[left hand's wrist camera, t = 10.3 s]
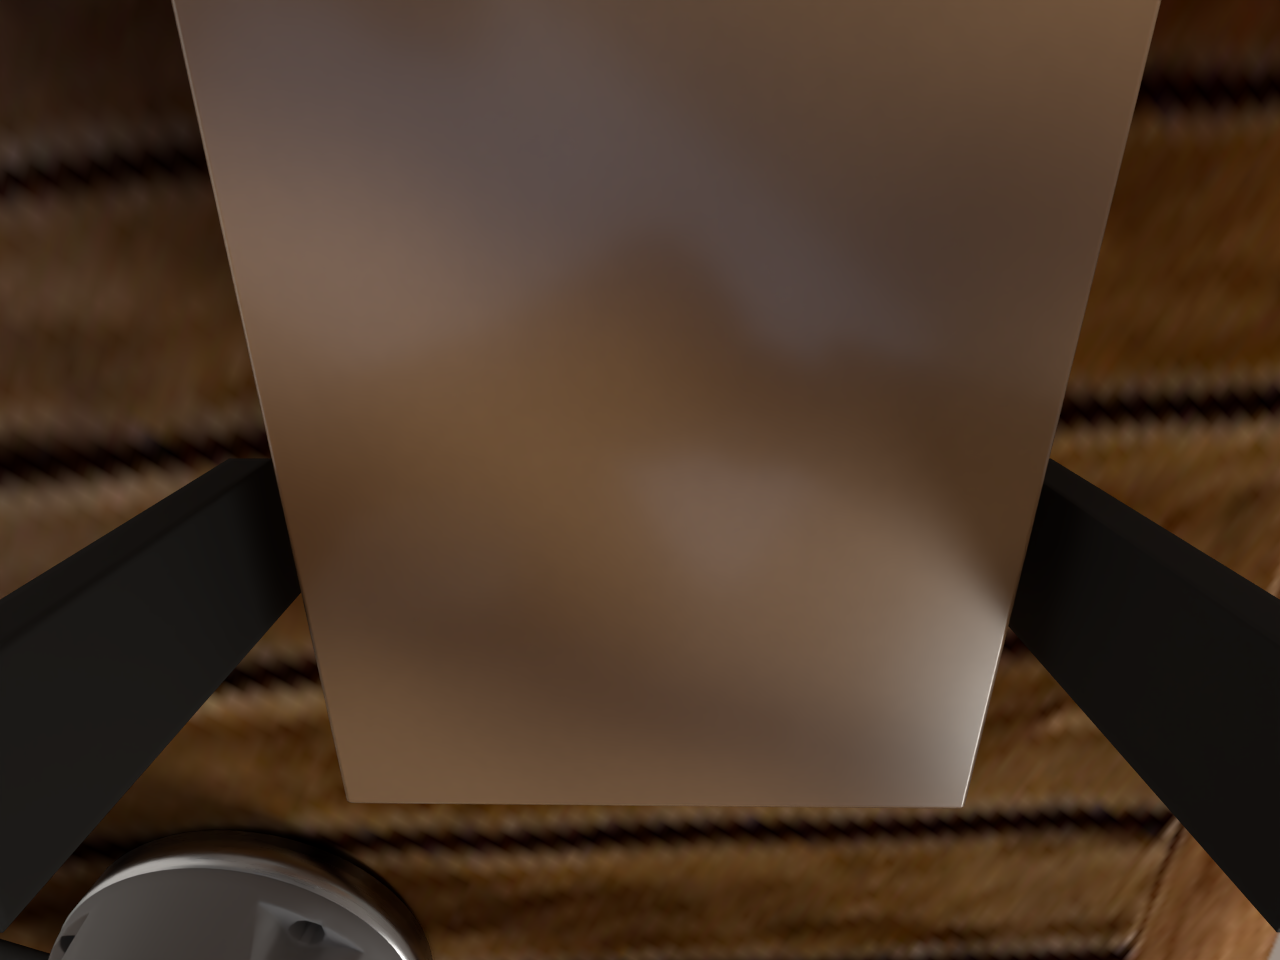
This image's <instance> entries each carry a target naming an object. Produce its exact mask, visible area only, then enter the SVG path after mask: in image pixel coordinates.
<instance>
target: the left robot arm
mask: <svg viewBox="0 0 1280 960" xmlns="http://www.w3.org/2000/svg"><path fill="white" fill-rule="evenodd" d="M300 593H301V590H300V585H299V580H298V576H297V571H296V567H295V562H294V557H293V553H292V548H291V543H290V539H289V534H288V530H287V525H286V520H285V516H284V511H283V507H282V502H281V498H280V493H279V489H278V484H277V480H276V475H275V470H274V466H273V461H272V459H228V460H226V461H225V462H223V463H221V464H220V465H218V466H216V467H215V468H213V469H212V470H210V471H208V472H207V473H205V474H203V475H202V476H200V477H199V478H197V479H195V480H194V481H192V482H190V483H189V484H187V485H186V486H184V487H182V488H181V489H179V490H177V491H176V492H174V493H173V494H171V495H169V496H168V497H166V498H164V499H163V500H161V501H160V502H158V503H156V504H155V505H153V506H152V507H150V508H148V509H147V510H145V511H143V512H142V513H140V514H139V515H137V516H135V517H134V518H132V519H130V520H129V521H127V522H126V523H124V524H122V525H121V526H119V527H117V528H116V529H114V530H113V531H111V532H109V533H108V534H106V535H104V536H103V537H101V538H100V539H98V540H96V541H95V542H93V543H91V544H90V545H88V546H87V547H85V548H83V549H82V550H80V551H78V552H77V553H75V554H74V555H72V556H70V557H69V558H67V559H65V560H64V561H62V562H61V563H59V564H57V565H56V566H54V567H53V568H51V569H49V570H48V571H46V572H44V573H43V574H41V575H40V576H38V577H36V578H35V579H33V580H31V581H30V582H28V583H27V584H25V585H23V586H22V587H20V588H18V589H17V590H15V591H14V592H12V593H10V594H9V595H7V596H5V597H4V598H2V599H1V600H0V932H4V931H5V930H6V928H7V927H8V926H9V925H10V924H11V923H12V922H13V921H14V919H15V918H16V917H17V916H18V915H19V914H20V913H21V911H22V910H23V909H24V908H25V907H26V906H27V905H28V903H29V902H30V901H31V900H32V899H33V898H34V897H35V895H36V894H37V893H38V892H39V891H40V890H41V889H42V887H43V886H44V885H45V884H46V883H47V882H48V881H49V879H50V878H51V877H52V876H53V875H54V874H55V873H56V871H57V870H58V869H59V868H60V867H61V866H62V865H63V863H64V862H65V861H66V860H67V859H68V858H69V857H70V855H71V854H72V853H73V852H74V851H75V850H76V849H77V847H78V846H79V845H80V844H81V843H82V842H83V841H84V839H85V838H86V837H87V836H88V835H89V834H90V833H91V831H92V830H93V829H94V828H95V827H96V826H97V825H98V823H99V822H100V821H101V820H102V819H103V818H104V817H105V816H106V814H107V813H108V812H109V811H110V810H111V809H112V808H113V806H114V805H115V804H116V803H117V802H118V801H119V800H120V798H121V797H122V796H123V795H124V794H125V793H126V792H127V790H128V789H129V788H130V787H131V786H132V785H133V784H134V782H135V781H136V780H137V779H138V778H139V777H140V776H141V774H142V773H143V772H144V771H145V770H146V769H147V768H148V766H149V765H150V764H151V763H152V762H153V761H154V760H155V758H156V757H157V756H158V755H159V754H160V753H161V752H162V750H163V749H164V748H165V747H166V746H167V745H168V744H169V742H170V741H171V740H172V739H173V738H174V737H175V736H176V734H177V733H178V732H179V731H180V730H181V729H182V728H183V726H184V725H185V724H186V723H187V722H188V721H189V720H190V718H191V717H192V716H193V715H194V714H195V713H196V712H197V711H198V709H199V708H200V707H201V706H202V705H203V704H204V703H205V701H206V700H207V699H208V698H209V697H210V696H211V695H212V693H213V692H214V691H215V690H216V689H217V688H218V687H219V685H220V684H221V683H222V682H223V681H224V680H225V679H226V677H227V676H228V675H229V674H230V673H231V672H232V671H233V669H234V668H235V667H236V666H237V665H238V664H239V663H240V661H241V660H242V659H243V658H244V657H245V656H246V655H247V653H248V652H249V651H250V650H251V649H252V648H253V647H254V645H255V644H256V643H257V642H258V641H259V640H260V639H261V637H262V636H263V635H264V634H265V633H266V632H267V631H268V629H269V628H270V627H271V626H272V625H273V624H274V623H275V621H276V620H277V619H278V618H279V617H280V616H281V615H282V613H283V612H284V611H285V610H286V609H287V608H288V607H289V606H290V604H291V603H292V602H293V601H294V600H295V599H296V598H297V596H298V595H299V594H300ZM1008 626H1009V627H1010V628H1011V629H1012V631H1013V632H1014V633H1015V634H1016V635H1017V636H1018V637H1019V639H1020V640H1021V641H1022V642H1023V643H1024V644H1025V645H1026V647H1027V648H1028V649H1029V650H1030V651H1031V652H1032V653H1033V655H1034V656H1035V657H1036V658H1037V659H1038V660H1039V661H1040V663H1041V664H1042V665H1043V666H1044V667H1045V668H1046V669H1047V671H1048V672H1049V673H1050V674H1051V675H1052V676H1053V677H1054V679H1055V680H1056V681H1057V682H1058V683H1059V684H1060V685H1061V687H1062V688H1063V689H1064V690H1065V691H1066V692H1067V693H1068V695H1069V696H1070V697H1071V698H1072V699H1073V700H1074V701H1075V703H1076V704H1077V705H1078V706H1079V707H1080V708H1081V709H1082V711H1083V712H1084V713H1085V714H1086V715H1087V716H1088V717H1089V718H1090V720H1091V721H1092V722H1093V723H1094V724H1095V725H1096V726H1097V728H1098V729H1099V730H1100V731H1101V732H1102V733H1103V734H1104V736H1105V737H1106V738H1107V739H1108V740H1109V741H1110V742H1111V744H1112V745H1113V746H1114V747H1115V748H1116V749H1117V750H1118V752H1119V753H1120V754H1121V755H1122V756H1123V757H1124V758H1125V760H1126V761H1127V762H1128V763H1129V764H1130V765H1131V766H1132V768H1133V769H1134V770H1135V771H1136V772H1137V773H1138V774H1139V776H1140V777H1141V778H1142V779H1143V780H1144V781H1145V782H1146V784H1147V785H1148V786H1149V787H1150V788H1151V789H1152V790H1153V792H1154V793H1155V794H1156V795H1157V796H1158V797H1159V798H1160V800H1161V801H1162V802H1163V803H1164V804H1165V805H1166V806H1167V808H1168V809H1169V810H1170V811H1171V812H1172V813H1173V814H1174V816H1175V817H1176V818H1177V819H1178V820H1179V821H1180V822H1181V823H1182V825H1183V826H1184V827H1185V828H1186V829H1187V830H1188V831H1189V833H1190V834H1191V835H1192V836H1193V837H1194V838H1195V839H1196V841H1197V842H1198V843H1199V844H1200V845H1201V846H1202V847H1203V849H1204V850H1205V851H1206V852H1207V853H1208V854H1209V855H1210V857H1211V858H1212V859H1213V860H1214V861H1215V862H1216V863H1217V865H1218V866H1219V867H1220V868H1221V869H1222V870H1223V871H1224V873H1225V874H1226V875H1227V876H1228V877H1229V878H1230V879H1231V881H1232V882H1233V883H1234V884H1235V885H1236V886H1237V887H1238V889H1239V890H1240V891H1241V892H1242V893H1243V894H1244V895H1245V897H1246V898H1247V899H1248V900H1249V901H1250V902H1251V903H1252V905H1253V906H1254V907H1255V908H1256V909H1257V910H1258V911H1259V913H1260V914H1261V915H1262V916H1263V917H1264V918H1265V919H1266V921H1267V922H1268V923H1269V924H1270V925H1271V926H1272V927H1273V928H1274V930H1275V931H1276V932H1280V600H1279V599H1278V598H1276V597H1275V596H1273V595H1271V594H1270V593H1268V592H1266V591H1265V590H1263V589H1262V588H1260V587H1258V586H1257V585H1255V584H1253V583H1252V582H1250V581H1249V580H1247V579H1245V578H1244V577H1242V576H1240V575H1239V574H1237V573H1236V572H1234V571H1232V570H1231V569H1229V568H1227V567H1226V566H1224V565H1223V564H1221V563H1219V562H1218V561H1216V560H1215V559H1213V558H1211V557H1210V556H1208V555H1206V554H1205V553H1203V552H1202V551H1200V550H1198V549H1197V548H1195V547H1193V546H1192V545H1190V544H1189V543H1187V542H1185V541H1184V540H1182V539H1180V538H1179V537H1177V536H1176V535H1174V534H1172V533H1171V532H1169V531H1167V530H1166V529H1164V528H1163V527H1161V526H1159V525H1158V524H1156V523H1154V522H1153V521H1151V520H1150V519H1148V518H1146V517H1145V516H1143V515H1141V514H1140V513H1138V512H1137V511H1135V510H1133V509H1132V508H1130V507H1128V506H1127V505H1125V504H1124V503H1122V502H1120V501H1119V500H1117V499H1116V498H1114V497H1112V496H1111V495H1109V494H1107V493H1106V492H1104V491H1103V490H1101V489H1099V488H1098V487H1096V486H1094V485H1093V484H1091V483H1090V482H1088V481H1086V480H1085V479H1083V478H1081V477H1080V476H1078V475H1077V474H1075V473H1073V472H1072V471H1070V470H1068V469H1067V468H1065V467H1064V466H1062V465H1060V464H1059V463H1057V462H1055V461H1054V460H1052V459H1049V461H1048V465H1047V469H1046V473H1045V478H1044V482H1043V486H1042V490H1041V494H1040V498H1039V502H1038V506H1037V510H1036V514H1035V519H1034V523H1033V527H1032V531H1031V535H1030V539H1029V543H1028V547H1027V551H1026V555H1025V560H1024V564H1023V568H1022V572H1021V576H1020V580H1019V584H1018V588H1017V592H1016V596H1015V600H1014V605H1013V609H1012V613H1011V617H1010V621H1009V625H1008ZM0 960H432V955H431V951H430V947H429V944H428V941H427V939H426V936H425V934H424V932H423V930H422V928H421V926H420V925H419V923H418V921H417V920H416V918H415V917H414V916H413V914H412V913H411V911H410V910H409V909H408V908H407V907H406V905H405V904H404V903H403V902H402V901H401V900H400V899H399V898H398V897H397V896H396V895H395V894H394V893H393V892H392V891H391V890H390V889H388V888H387V887H386V886H385V885H383V884H382V883H381V882H380V881H378V880H377V879H376V878H374V877H373V876H371V875H370V874H368V873H367V872H365V871H364V870H362V869H360V868H359V867H357V866H355V865H353V864H352V863H350V862H348V861H346V860H344V859H342V858H340V857H338V856H336V855H333V854H331V853H329V852H327V851H324V850H321V849H319V848H316V847H314V846H311V845H308V844H305V843H302V842H298V841H295V840H291V839H287V838H283V837H278V836H274V835H268V834H262V833H256V832H246V831H233V830H208V831H195V832H186V833H181V834H176V835H171V836H167V837H163V838H160V839H156V840H153V841H151V842H148V843H146V844H143V845H141V846H139V847H137V848H135V849H133V850H131V851H129V852H127V853H126V854H124V855H123V856H121V857H120V858H119V859H117V860H116V861H115V862H114V863H112V864H111V865H110V866H109V867H108V868H107V869H106V870H105V871H104V873H103V874H102V875H101V876H100V878H99V879H98V880H97V881H96V882H95V884H94V885H93V886H92V887H91V889H90V890H89V891H88V892H87V894H86V895H85V896H84V897H83V898H82V900H81V901H80V902H79V903H78V905H77V906H76V907H75V908H74V910H73V911H72V912H71V913H70V915H69V916H68V918H67V919H66V921H65V923H64V924H63V926H62V929H61V932H60V933H59V935H58V937H57V939H56V941H55V944H54V946H53V948H52V951H51V953H50V954H49V953H46V952H42V951H39V950H36V949H32V948H29V947H26V946H22V945H19V944H16V943H12V942H9V941H6V940H2V939H0Z"/></svg>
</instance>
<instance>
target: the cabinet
mask: <svg viewBox="0 0 1280 960" xmlns="http://www.w3.org/2000/svg"><path fill="white" fill-rule="evenodd" d="M171 2H172V7H173V12H174V16H175V21H176V25H177V30H178V34H179V39H180V43H181V48H182V52H183V57H184V62H185V66H186V71H187V75H188V80H189V84H190V89H191V93H192V98H193V102H194V107H195V112H196V116H197V121H198V125H199V130H200V134H201V139H202V143H203V148H204V152H205V157H206V161H207V166H208V171H209V175H210V180H211V184H212V189H213V193H214V198H215V202H216V207H217V211H218V216H219V221H220V225H221V230H222V234H223V239H224V243H225V248H226V252H227V257H228V261H229V266H230V271H231V275H232V280H233V284H234V289H235V293H236V298H237V302H238V307H239V311H240V316H241V321H242V325H243V330H244V334H245V339H246V343H247V348H248V352H249V357H250V361H251V366H252V370H253V375H254V380H255V384H256V389H257V393H258V398H259V402H260V407H261V411H262V416H263V420H264V425H265V430H266V434H267V439H268V443H269V448H270V452H271V457H272V461H273V466H274V470H275V475H276V480H277V484H278V489H279V493H280V498H281V502H282V507H283V511H284V516H285V520H286V525H287V530H288V534H289V539H290V543H291V548H292V552H293V557H294V561H295V566H296V570H297V575H298V579H299V584H300V589H301V593H302V598H303V602H304V607H305V611H306V616H307V620H308V625H309V629H310V634H311V639H312V643H313V648H314V652H315V657H316V661H317V666H318V670H319V675H320V679H321V684H322V689H323V693H324V698H325V702H326V707H327V711H328V716H329V720H330V725H331V729H332V734H333V738H334V743H335V748H336V752H337V757H338V761H339V766H340V770H341V775H342V779H343V784H344V788H345V793H346V798H347V800H348V802H351V803H428V804H533V805H638V806H744V807H849V808H954V809H960V808H963V807H964V805H965V801H966V797H967V793H968V789H969V785H970V781H971V777H972V773H973V768H974V764H975V760H976V756H977V752H978V748H979V744H980V740H981V736H982V732H983V727H984V723H985V719H986V715H987V711H988V707H989V703H990V699H991V695H992V691H993V687H994V682H995V678H996V674H997V670H998V666H999V662H1000V658H1001V654H1002V650H1003V646H1004V641H1005V637H1006V633H1007V629H1008V625H1009V621H1010V617H1011V613H1012V609H1013V605H1014V600H1015V596H1016V592H1017V588H1018V584H1019V580H1020V576H1021V572H1022V568H1023V564H1024V560H1025V555H1026V551H1027V547H1028V543H1029V539H1030V535H1031V531H1032V527H1033V523H1034V519H1035V514H1036V510H1037V506H1038V502H1039V498H1040V494H1041V490H1042V486H1043V482H1044V478H1045V473H1046V469H1047V465H1048V461H1049V457H1050V453H1051V449H1052V445H1053V441H1054V437H1055V433H1056V428H1057V424H1058V420H1059V416H1060V412H1061V408H1062V404H1063V400H1064V396H1065V392H1066V387H1067V383H1068V379H1069V375H1070V371H1071V367H1072V363H1073V359H1074V355H1075V351H1076V346H1077V342H1078V338H1079V334H1080V330H1081V326H1082V322H1083V318H1084V314H1085V310H1086V306H1087V301H1088V297H1089V293H1090V289H1091V285H1092V281H1093V277H1094V273H1095V269H1096V265H1097V260H1098V256H1099V252H1100V248H1101V244H1102V240H1103V236H1104V232H1105V228H1106V224H1107V219H1108V215H1109V211H1110V207H1111V203H1112V199H1113V195H1114V191H1115V187H1116V183H1117V179H1118V174H1119V170H1120V166H1121V162H1122V158H1123V154H1124V150H1125V146H1126V142H1127V138H1128V133H1129V129H1130V125H1131V121H1132V117H1133V113H1134V109H1135V105H1136V101H1137V97H1138V92H1139V88H1140V84H1141V80H1142V76H1143V72H1144V68H1145V64H1146V60H1147V56H1148V52H1149V47H1150V43H1151V39H1152V35H1153V31H1154V27H1155V23H1156V19H1157V15H1158V11H1159V6H1160V2H1161V0H171Z"/></svg>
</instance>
